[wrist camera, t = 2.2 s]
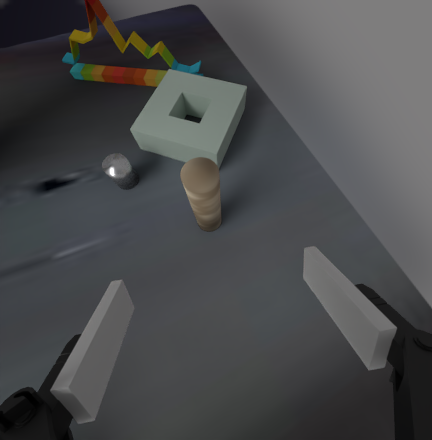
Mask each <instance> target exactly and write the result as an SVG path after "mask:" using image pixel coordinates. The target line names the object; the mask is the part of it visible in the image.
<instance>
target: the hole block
mask: <svg viewBox="0 0 432 440" xmlns="http://www.w3.org/2000/svg"><path fill="white" fill-rule="evenodd" d="M246 92H247V86H244V85H239V84H235V83H230V82H226V81H221V80H217V79H212V78H208V77H203V76H199V75H194V74H189V73H185V72H180V71H176V70H171V69H169V70H168V72H167V73H166V75H165V76H164V78H163V79H162V81H161V82H160V84H159V85H158V87H157V88H156V90H155V92H154V93H153V95H152V96H151V98H150V99H149V101H148V102H147V104H146V105H145V107H144V109H143V110H142V112H141V113H140V115H139V116H138V118H137V119H136V121H135V122H134V124H133V126H132V127H131V129H130V131H131V132H132V134H133V136H134V138H135V139H136V141H137V143H138V145H139V146H140V148H141V149H143V150H146V151H149V152H153V153H156V154H159V155H163V156H166V157H170V158H173V159H176V160H180V161H183V162H188V161H189V160H191V159H193V158H197V157H205V158H208V159H211V160H212V161H214V162H215V163H216V165H217V166H218V169H219V168H220V165H221V163H222V161H223V158H224V156H225V154H226V152H227V149H228V147H229V145H230V142H231V140H232V138H233V135H234V133H235V131H236V128H237V126H238V124H239V121H240V119H241V117H242V114H243V112H244V110H245V102H246ZM186 115H191V116H195V117H199V118H202V120H201V122H200V124H199V123H195V122H192V121H188V120H184V118H185V117H186Z"/></svg>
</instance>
